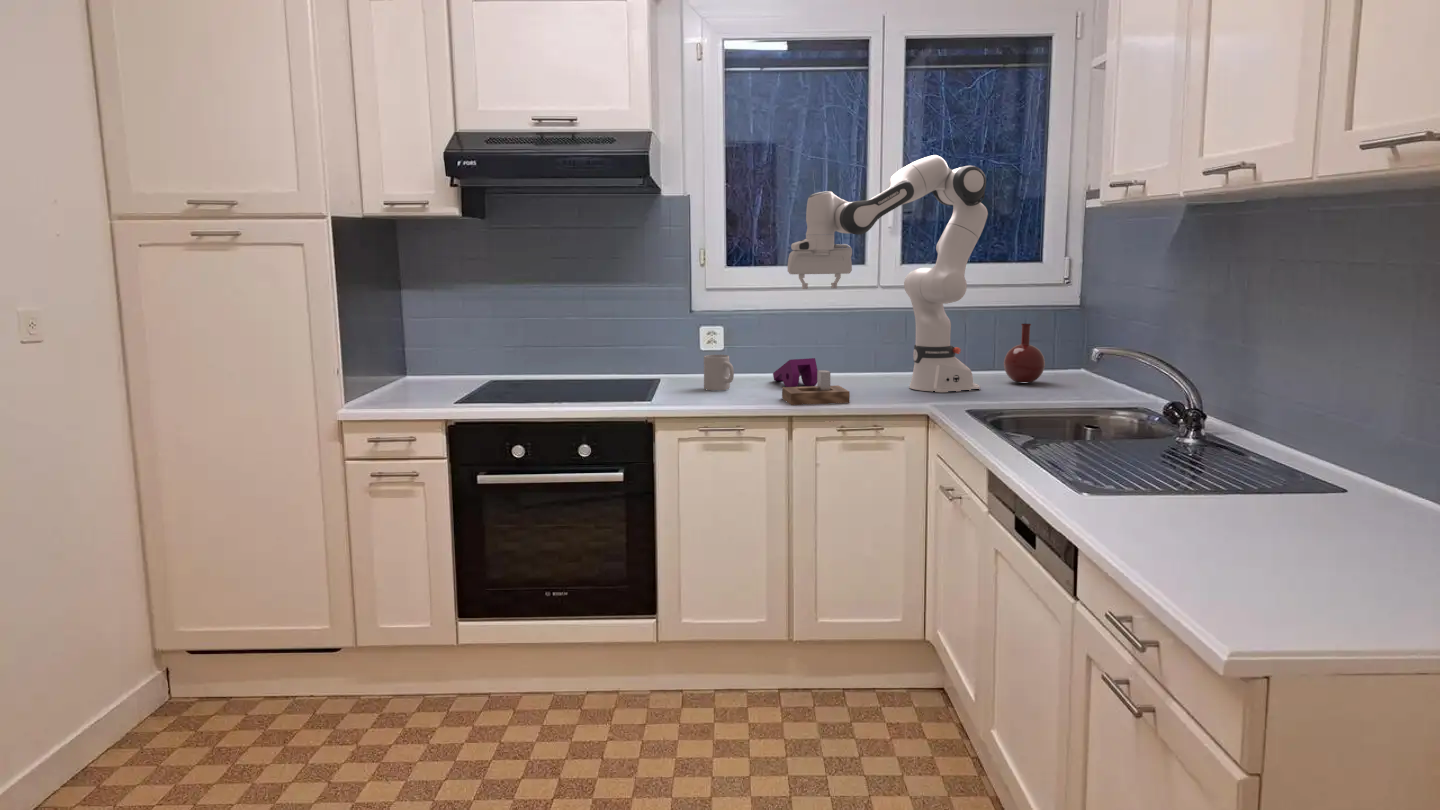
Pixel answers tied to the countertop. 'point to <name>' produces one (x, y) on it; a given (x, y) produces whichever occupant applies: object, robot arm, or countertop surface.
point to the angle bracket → (823, 380)
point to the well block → (815, 395)
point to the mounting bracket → (797, 372)
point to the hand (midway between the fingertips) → (819, 288)
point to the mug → (717, 372)
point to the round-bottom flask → (1024, 360)
